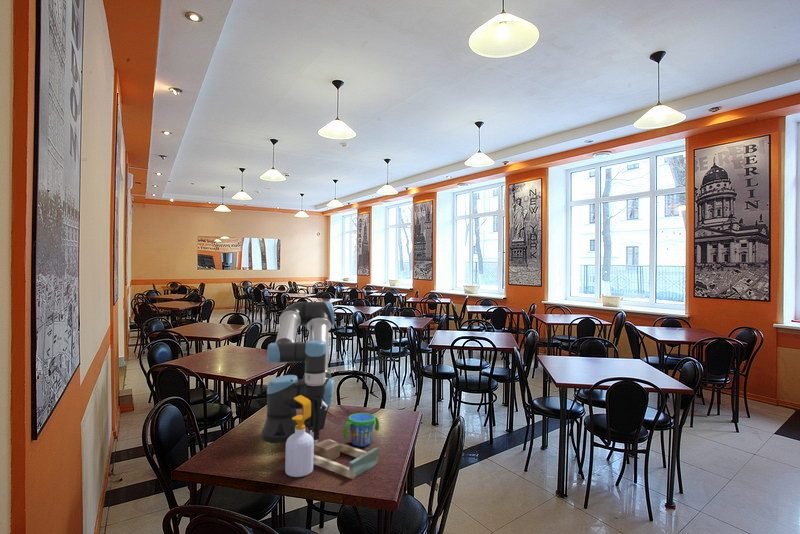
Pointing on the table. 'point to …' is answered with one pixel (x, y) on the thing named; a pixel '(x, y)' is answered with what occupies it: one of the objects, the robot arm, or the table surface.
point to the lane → (355, 467)
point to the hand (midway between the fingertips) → (313, 447)
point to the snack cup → (361, 428)
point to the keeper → (327, 449)
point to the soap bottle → (300, 444)
